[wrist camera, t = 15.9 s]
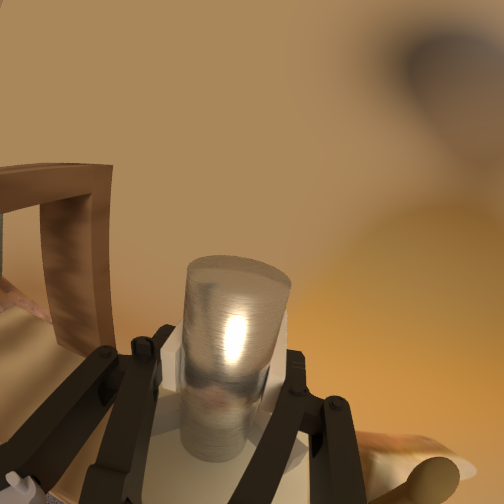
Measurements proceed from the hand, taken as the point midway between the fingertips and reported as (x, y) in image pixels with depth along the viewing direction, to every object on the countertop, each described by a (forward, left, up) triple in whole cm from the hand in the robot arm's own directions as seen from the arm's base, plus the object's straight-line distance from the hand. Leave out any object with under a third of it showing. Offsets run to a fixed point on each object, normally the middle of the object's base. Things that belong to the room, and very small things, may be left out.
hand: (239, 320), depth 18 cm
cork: (+20, +3, -19) cm, 28 cm away
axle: (+3, -5, -6) cm, 8 cm away
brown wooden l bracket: (-13, -11, -9) cm, 19 cm away
